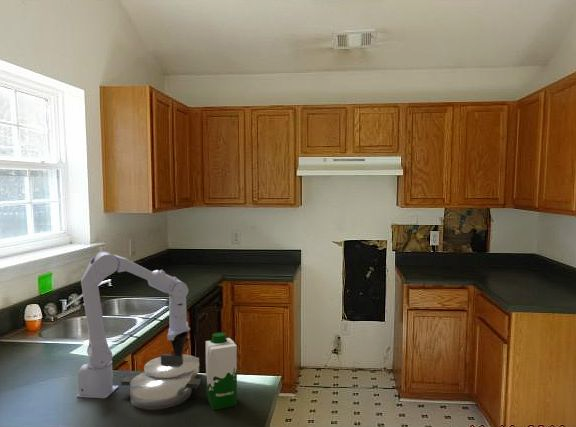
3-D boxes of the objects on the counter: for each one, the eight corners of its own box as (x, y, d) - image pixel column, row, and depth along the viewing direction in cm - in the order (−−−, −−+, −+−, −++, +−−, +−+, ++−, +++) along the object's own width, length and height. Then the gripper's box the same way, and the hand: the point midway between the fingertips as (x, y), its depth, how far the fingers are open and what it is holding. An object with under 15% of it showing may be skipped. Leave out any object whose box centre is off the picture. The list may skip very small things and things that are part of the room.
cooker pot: (109, 407, 124) (109, 390, 124) (150, 369, 152) (149, 356, 152) (189, 411, 122) (188, 394, 122) (215, 372, 149) (215, 358, 149)
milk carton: (231, 393, 133) (231, 330, 132) (240, 406, 124) (239, 338, 124) (203, 399, 129) (202, 334, 129) (210, 412, 121) (209, 343, 120)
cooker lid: (134, 377, 133) (134, 364, 133) (157, 356, 151) (157, 345, 150) (188, 379, 131) (188, 366, 131) (206, 357, 149) (205, 346, 148)
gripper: (181, 321, 139) (182, 362, 139) (196, 309, 153) (196, 347, 153) (160, 321, 139) (161, 362, 140) (177, 309, 154) (177, 346, 154)
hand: (178, 354), depth 147 cm, fingers closed
